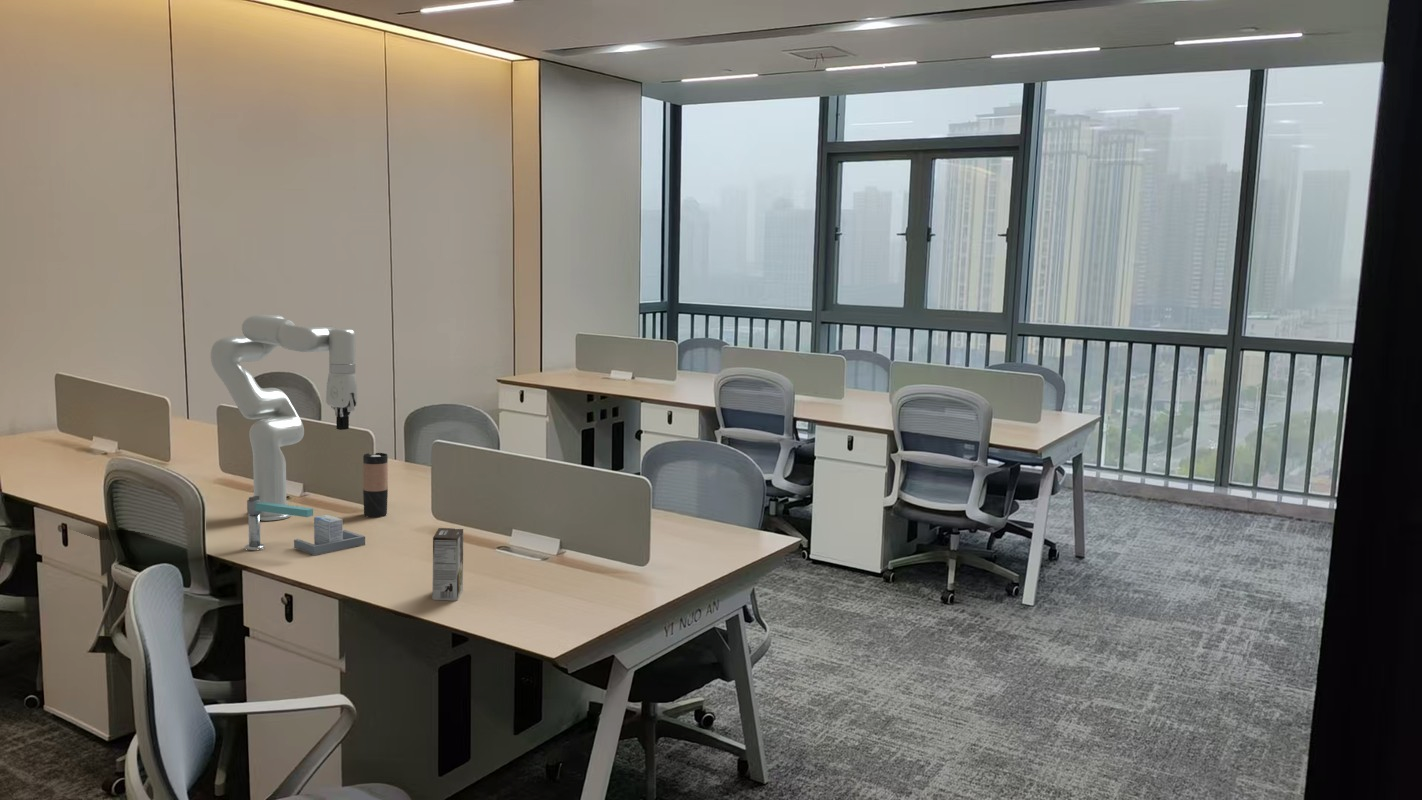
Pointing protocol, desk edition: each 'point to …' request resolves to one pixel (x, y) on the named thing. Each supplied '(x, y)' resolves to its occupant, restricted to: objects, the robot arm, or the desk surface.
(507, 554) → the desk surface
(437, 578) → the coffee box
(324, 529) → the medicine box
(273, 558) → the desk surface
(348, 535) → the bay
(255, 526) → the post
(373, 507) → the travel mug
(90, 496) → the desk surface
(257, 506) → the bar
